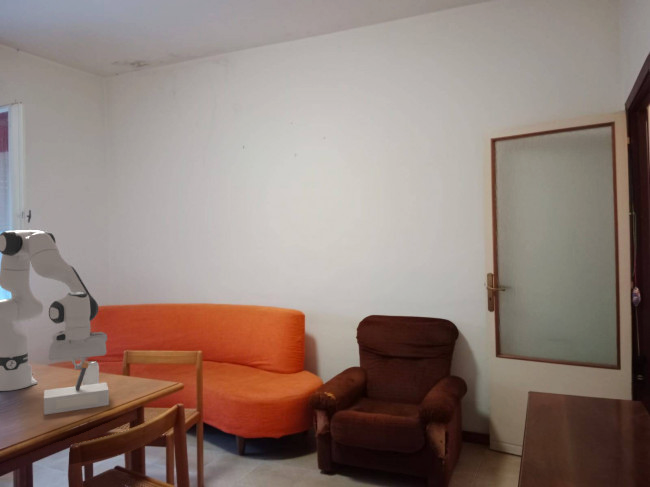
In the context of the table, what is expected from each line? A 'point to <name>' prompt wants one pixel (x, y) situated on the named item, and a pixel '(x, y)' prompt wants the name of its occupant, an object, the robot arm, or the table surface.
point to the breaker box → (75, 398)
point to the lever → (81, 374)
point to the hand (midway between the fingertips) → (78, 369)
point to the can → (91, 374)
